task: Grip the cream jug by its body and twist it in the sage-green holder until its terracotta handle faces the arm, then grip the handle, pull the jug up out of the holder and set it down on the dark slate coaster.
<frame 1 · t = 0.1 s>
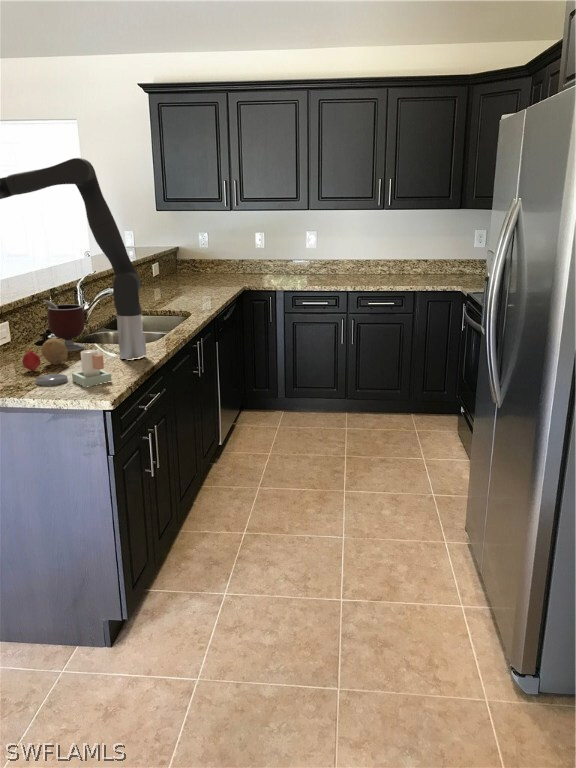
jug: (93, 367, 198), in the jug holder
natural sponge: (55, 364, 221), on the worktop
coaster: (51, 381, 200), on the worktop
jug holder: (92, 381, 200), on the worktop
onion: (32, 371, 212), on the worktop
mate gourd: (67, 348, 246), on the worktop
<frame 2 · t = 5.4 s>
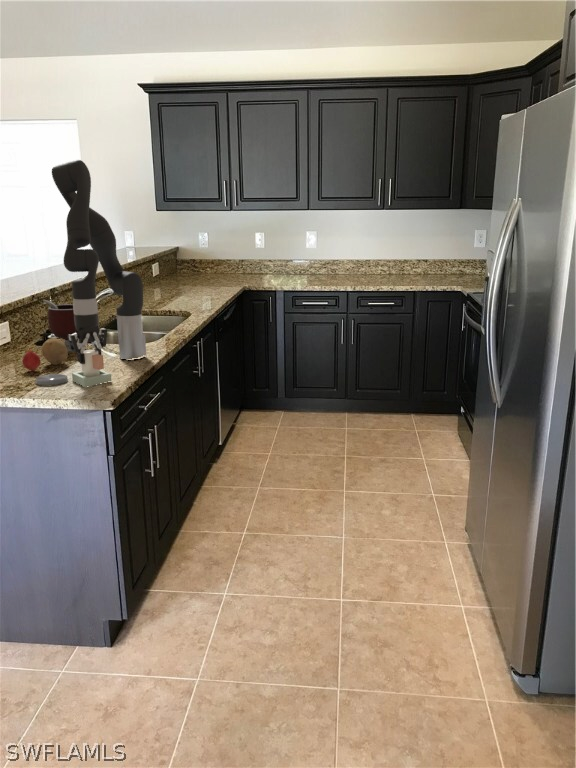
hand: (90, 361, 198), 7 cm above the worktop, tool pointing down, fingers closed on jug, 5 cm apart
jug: (93, 367, 198), in the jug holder, touching gripper
everything else where it was.
when the fingers open (7 cm above the worktop, at t = 8.0 s): jug stays where it is, resting in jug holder.
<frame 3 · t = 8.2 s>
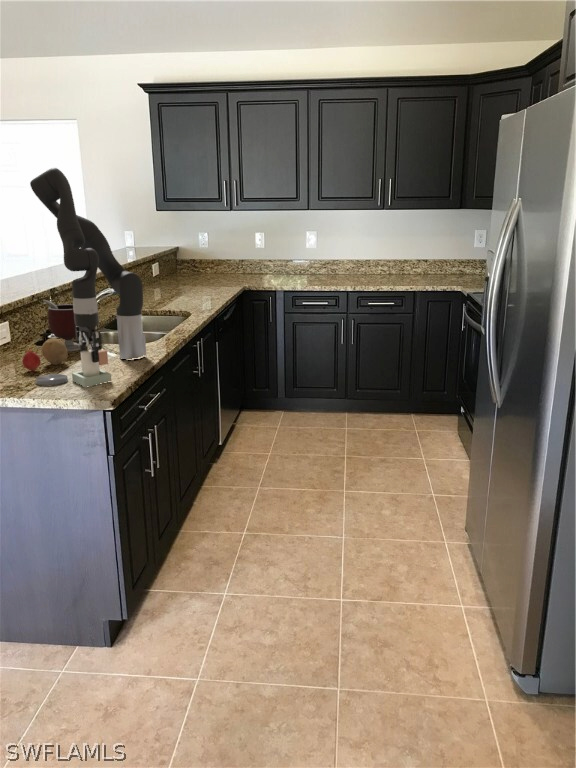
hand: (90, 359, 198), 8 cm above the worktop, tool pointing down, fingers open, 7 cm apart
jug: (94, 366, 200), in the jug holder
everything else where it was.
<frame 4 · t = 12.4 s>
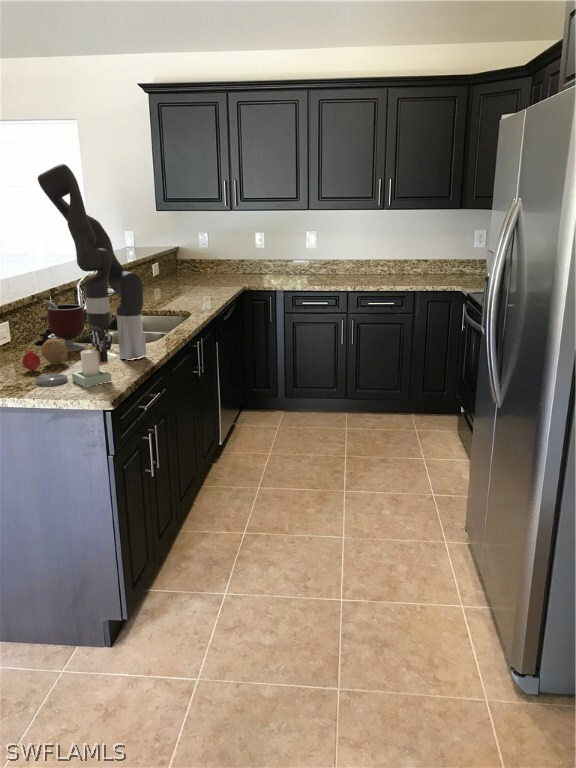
hand: (102, 360, 201), 7 cm above the worktop, tool pointing down, fingers closed on jug
jug: (94, 366, 200), in the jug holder, touching gripper
everything else where it was.
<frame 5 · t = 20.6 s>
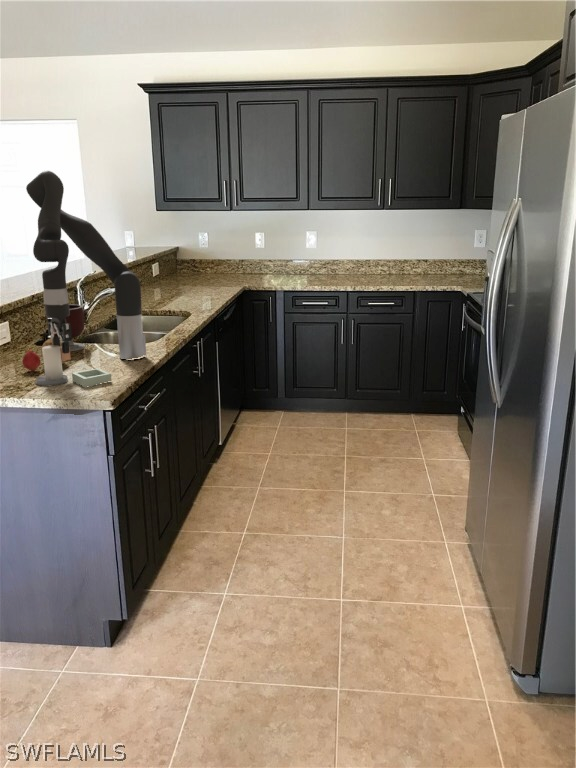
hand: (61, 350, 200), 10 cm above the worktop, tool pointing down, fingers open, 6 cm apart
jug: (57, 361, 200), on the coaster, point 6 cm above the worktop
everything else where it was.
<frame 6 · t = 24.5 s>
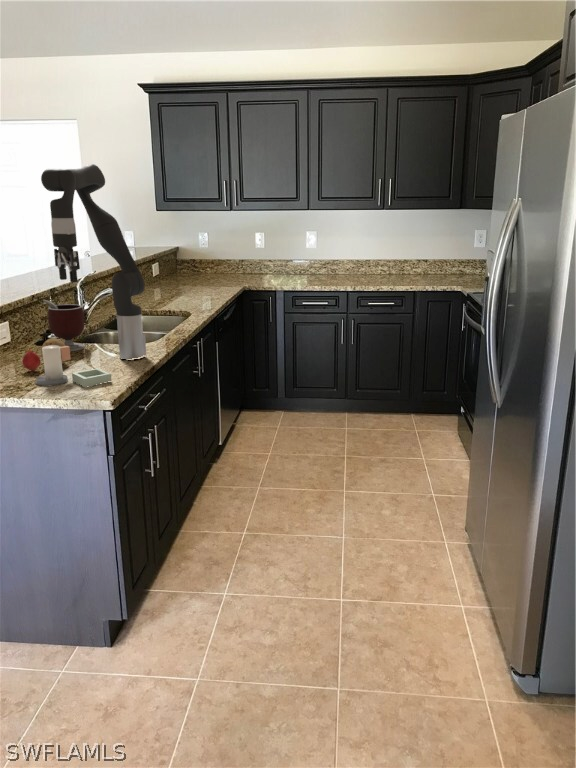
hand: (68, 280, 203), 32 cm above the worktop, tool pointing down, fingers open, 8 cm apart
nothing on the worktop moved.
at the end: jug 1.0 cm off-centre on the coaster, point 6.5 cm above the coaster's base; jug tilted 0°; the gripper is holding nothing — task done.
